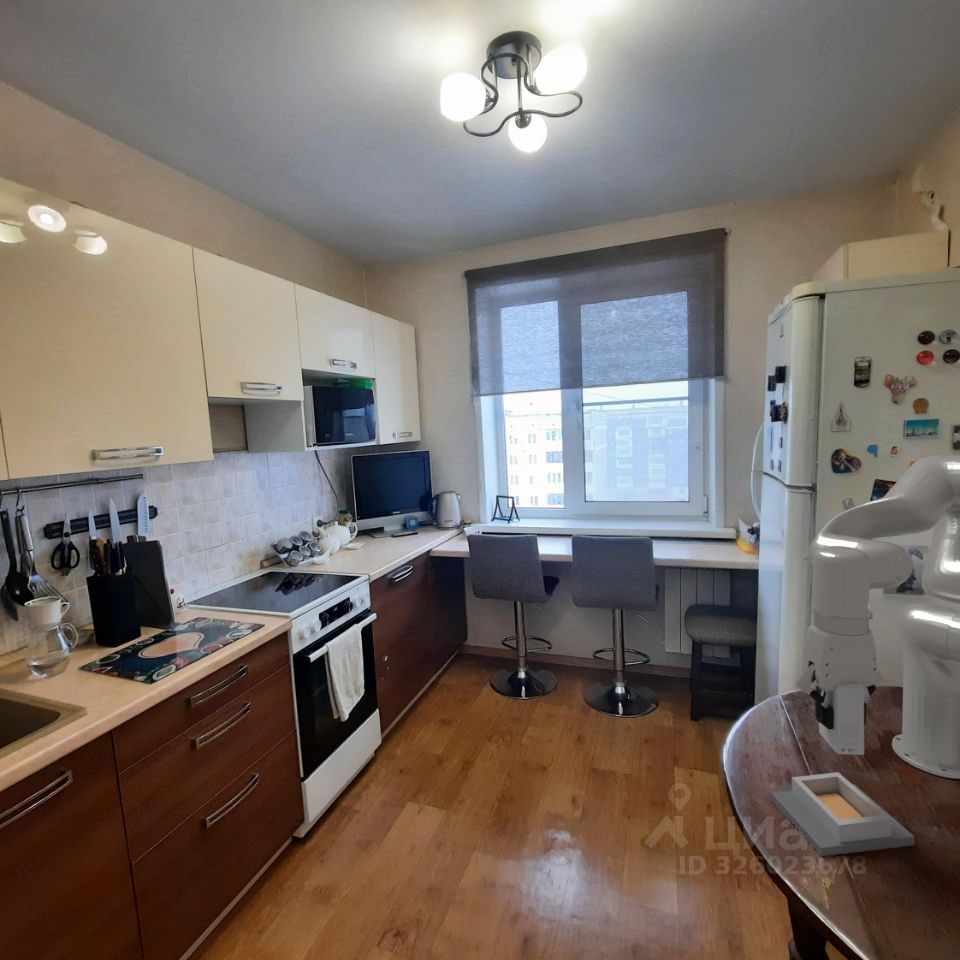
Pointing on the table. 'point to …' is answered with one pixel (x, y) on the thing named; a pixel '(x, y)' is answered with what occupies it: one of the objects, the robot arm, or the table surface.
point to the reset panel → (828, 828)
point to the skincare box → (846, 720)
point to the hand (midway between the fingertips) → (840, 721)
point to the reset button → (839, 806)
